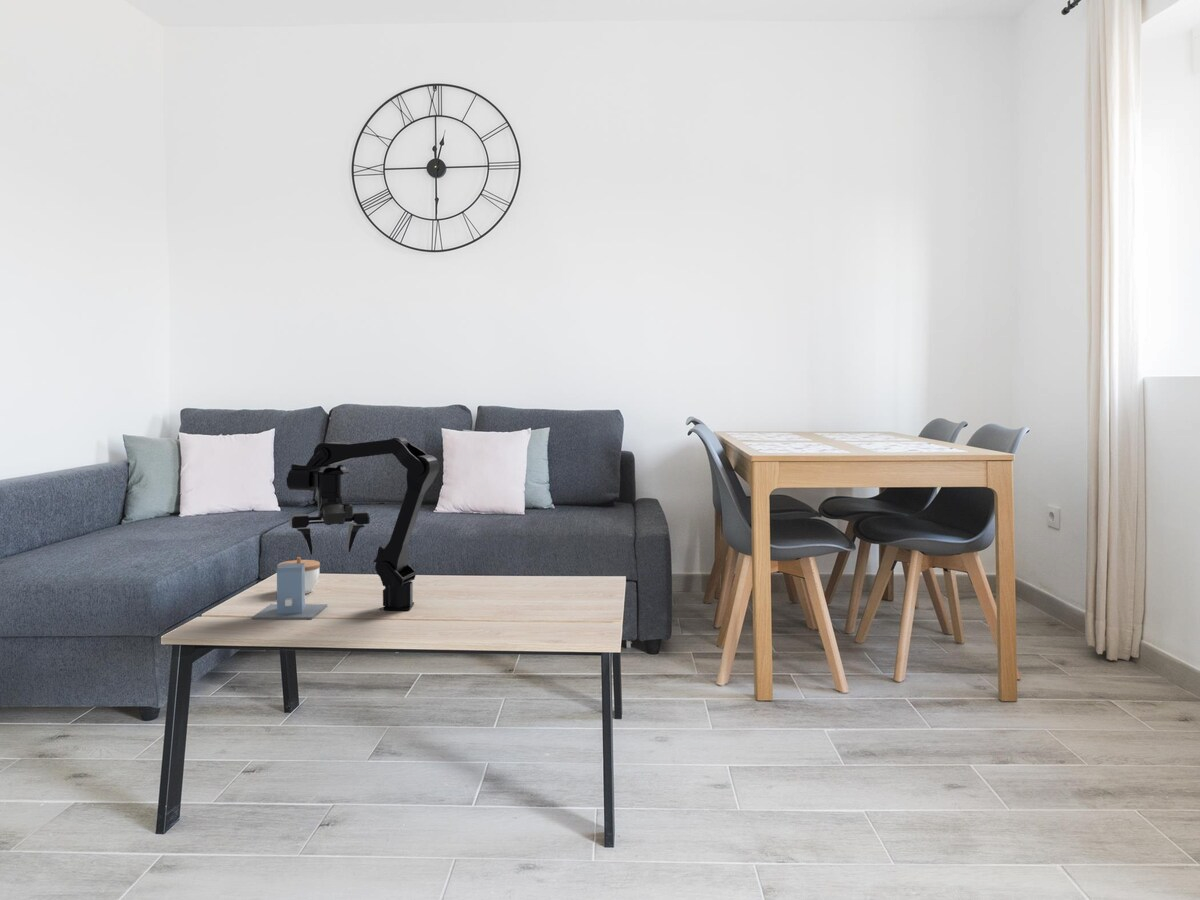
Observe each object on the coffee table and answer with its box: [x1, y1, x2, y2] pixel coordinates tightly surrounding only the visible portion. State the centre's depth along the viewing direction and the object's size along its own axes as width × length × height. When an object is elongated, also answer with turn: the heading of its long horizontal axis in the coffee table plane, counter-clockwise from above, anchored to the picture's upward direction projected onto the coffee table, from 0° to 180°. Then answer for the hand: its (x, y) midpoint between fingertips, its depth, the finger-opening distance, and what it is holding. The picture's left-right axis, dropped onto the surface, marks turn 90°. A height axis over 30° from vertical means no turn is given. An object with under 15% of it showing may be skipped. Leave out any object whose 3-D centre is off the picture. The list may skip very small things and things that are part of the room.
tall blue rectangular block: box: [276, 563, 306, 614], centre depth 194 cm, size 8×6×11 cm
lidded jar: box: [276, 556, 321, 595], centre depth 216 cm, size 11×11×9 cm
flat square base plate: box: [251, 603, 328, 620], centre depth 195 cm, size 14×12×4 cm
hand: (330, 553), depth 203 cm, fingers open, 9 cm apart
